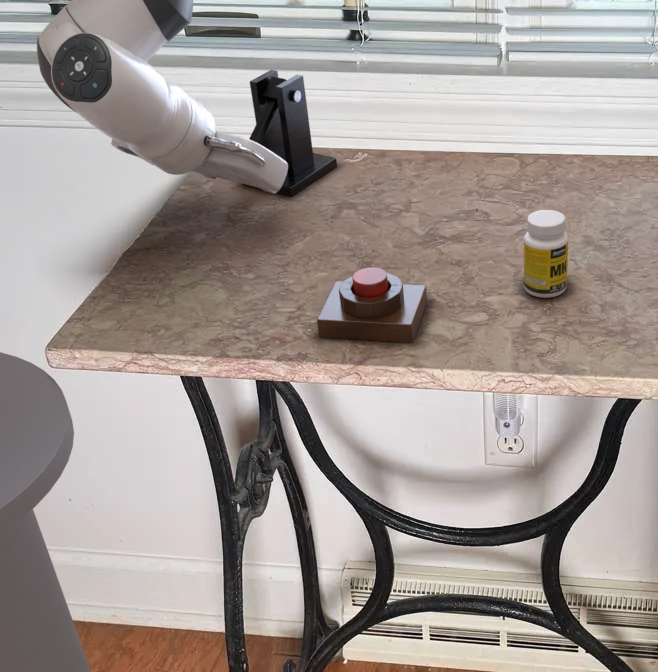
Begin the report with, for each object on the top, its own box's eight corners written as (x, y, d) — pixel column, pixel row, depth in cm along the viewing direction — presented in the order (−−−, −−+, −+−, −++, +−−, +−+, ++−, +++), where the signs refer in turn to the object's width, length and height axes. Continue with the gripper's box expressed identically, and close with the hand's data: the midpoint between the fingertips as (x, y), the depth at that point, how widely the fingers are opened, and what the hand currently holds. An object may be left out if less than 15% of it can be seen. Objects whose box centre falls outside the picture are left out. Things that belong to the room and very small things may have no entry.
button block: (319, 337, 124) (314, 304, 121) (337, 298, 130) (333, 266, 127) (412, 342, 122) (410, 309, 120) (427, 303, 128) (425, 270, 126)
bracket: (291, 196, 150) (277, 97, 141) (242, 184, 153) (225, 87, 145) (337, 166, 156) (326, 69, 148) (288, 155, 159) (275, 60, 151)
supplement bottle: (554, 303, 127) (554, 232, 122) (516, 292, 129) (515, 222, 124) (575, 283, 130) (576, 213, 125) (537, 273, 132) (537, 203, 127)
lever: (253, 190, 146) (239, 175, 143) (231, 185, 148) (217, 170, 145) (300, 93, 149) (287, 76, 146) (278, 89, 150) (265, 72, 147)
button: (350, 298, 123) (348, 283, 121) (358, 281, 125) (356, 266, 124) (384, 300, 122) (383, 285, 121) (391, 282, 125) (390, 268, 124)
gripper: (256, 121, 129) (320, 171, 142) (118, 92, 138) (189, 141, 151) (237, 175, 129) (302, 220, 142) (100, 142, 138) (173, 188, 150)
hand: (243, 179), depth 146 cm, fingers open, 8 cm apart
